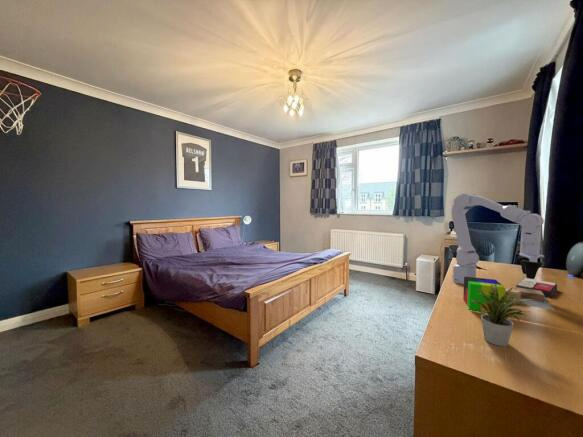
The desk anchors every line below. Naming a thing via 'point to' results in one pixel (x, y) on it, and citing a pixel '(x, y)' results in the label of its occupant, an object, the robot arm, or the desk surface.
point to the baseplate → (537, 303)
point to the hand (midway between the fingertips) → (528, 276)
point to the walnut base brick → (531, 294)
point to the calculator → (539, 286)
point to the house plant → (499, 316)
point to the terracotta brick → (513, 293)
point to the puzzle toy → (472, 289)
